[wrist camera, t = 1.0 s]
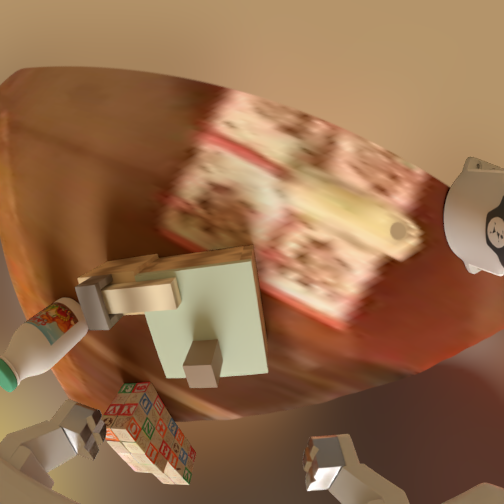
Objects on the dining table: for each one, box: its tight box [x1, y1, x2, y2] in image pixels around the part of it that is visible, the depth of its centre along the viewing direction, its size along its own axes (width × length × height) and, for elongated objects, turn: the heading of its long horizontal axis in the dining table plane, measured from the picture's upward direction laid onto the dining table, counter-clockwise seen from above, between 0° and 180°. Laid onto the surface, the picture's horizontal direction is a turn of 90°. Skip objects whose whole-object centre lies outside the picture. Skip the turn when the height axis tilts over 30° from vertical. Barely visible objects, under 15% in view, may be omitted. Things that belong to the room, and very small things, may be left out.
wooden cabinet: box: [75, 245, 268, 364], centre depth 32 cm, size 22×15×12 cm
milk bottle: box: [0, 297, 88, 392], centre depth 30 cm, size 8×8×20 cm
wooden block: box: [101, 277, 182, 314], centre depth 28 cm, size 9×3×2 cm, turn 98°
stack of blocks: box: [101, 382, 196, 485], centre depth 39 cm, size 21×6×12 cm, turn 16°
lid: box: [134, 259, 268, 388], centre depth 28 cm, size 13×14×6 cm
